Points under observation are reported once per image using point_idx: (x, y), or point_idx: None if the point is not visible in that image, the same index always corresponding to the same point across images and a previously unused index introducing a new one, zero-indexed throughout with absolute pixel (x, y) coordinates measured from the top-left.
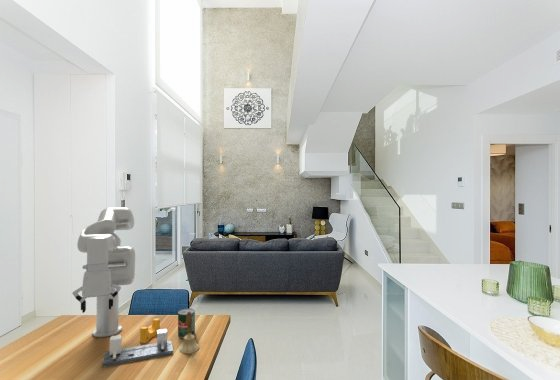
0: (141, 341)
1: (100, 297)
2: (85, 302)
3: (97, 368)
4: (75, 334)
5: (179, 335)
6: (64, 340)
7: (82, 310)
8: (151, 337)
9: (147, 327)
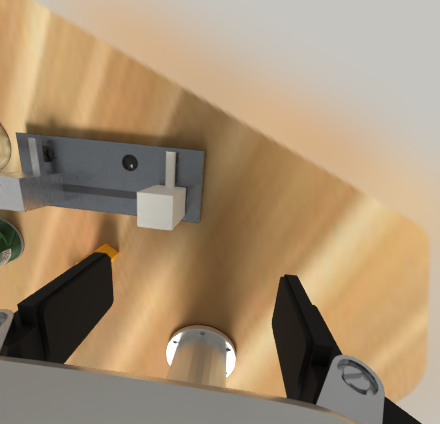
0: (114, 251)
1: None
2: (291, 376)
3: (217, 150)
4: (274, 374)
5: (14, 232)
6: None
7: (301, 285)
8: None
9: None
